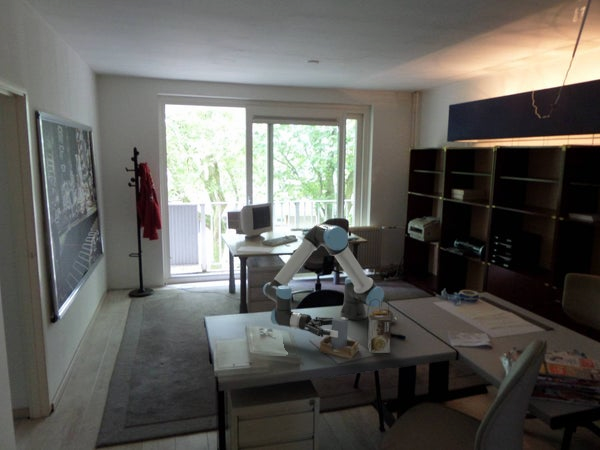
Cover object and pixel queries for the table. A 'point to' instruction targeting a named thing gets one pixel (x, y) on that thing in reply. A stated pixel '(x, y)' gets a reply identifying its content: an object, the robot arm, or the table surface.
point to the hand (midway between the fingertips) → (343, 329)
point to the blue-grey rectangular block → (340, 332)
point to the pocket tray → (339, 348)
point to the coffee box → (379, 334)
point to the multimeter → (378, 313)
